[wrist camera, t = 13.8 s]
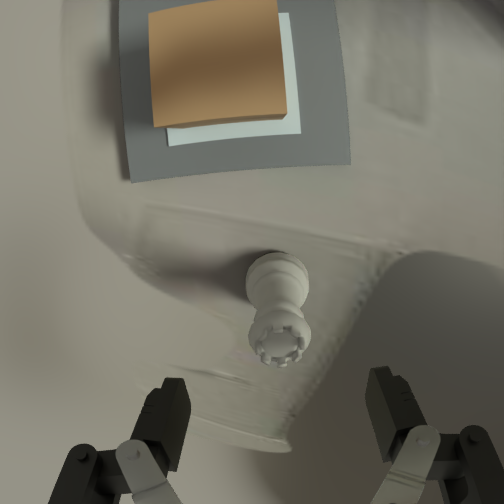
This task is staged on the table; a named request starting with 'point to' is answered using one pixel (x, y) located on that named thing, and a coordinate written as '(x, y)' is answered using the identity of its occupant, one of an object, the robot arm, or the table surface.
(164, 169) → the board
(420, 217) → the table surface
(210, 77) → the walnut block
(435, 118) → the table surface
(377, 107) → the table surface
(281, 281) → the rook chess piece
